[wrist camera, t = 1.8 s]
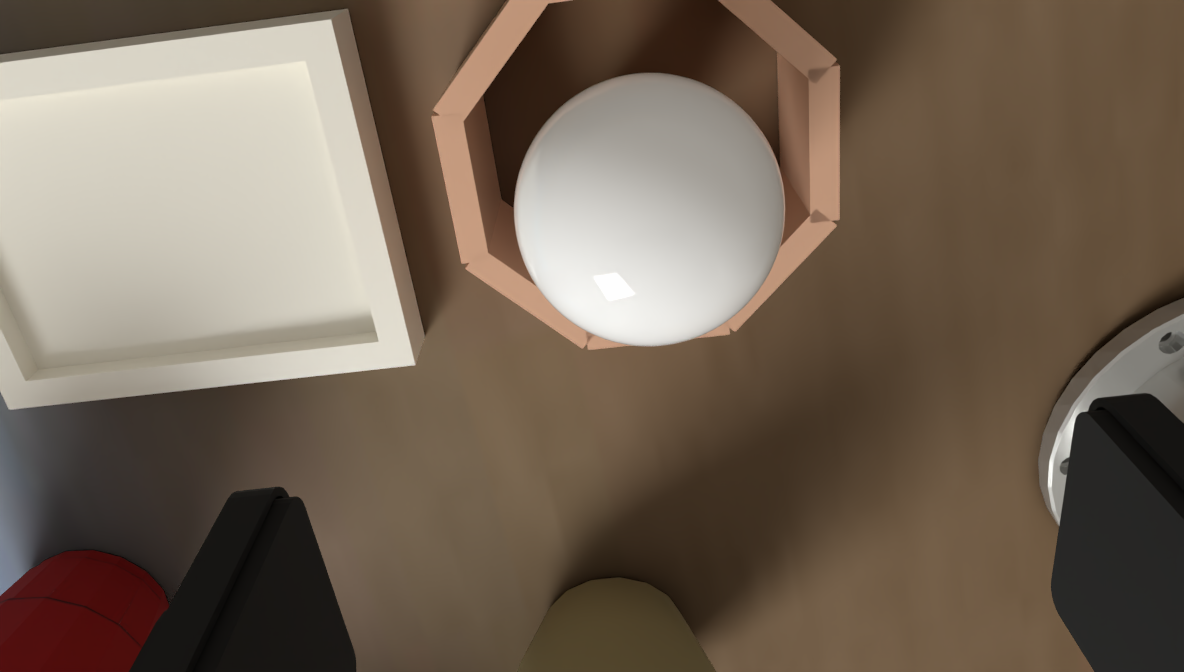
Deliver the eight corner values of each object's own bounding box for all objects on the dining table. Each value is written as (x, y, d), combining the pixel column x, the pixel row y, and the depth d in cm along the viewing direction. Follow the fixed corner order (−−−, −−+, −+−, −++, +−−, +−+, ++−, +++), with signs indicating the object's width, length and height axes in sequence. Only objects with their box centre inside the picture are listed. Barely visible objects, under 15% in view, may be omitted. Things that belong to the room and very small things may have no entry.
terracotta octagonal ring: (801, -82, 26) (840, -71, 22) (806, 262, 31) (839, 322, 27) (432, -33, 26) (404, -13, 22) (495, 297, 31) (481, 361, 27)
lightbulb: (496, 73, 28) (448, 190, 18) (691, -18, 27) (751, 56, 17) (583, 250, 31) (580, 435, 21) (763, 175, 29) (850, 334, 20)
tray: (348, 8, 27) (330, 19, 25) (424, 336, 32) (415, 365, 30) (-105, 68, 28) (-153, 82, 26) (40, 379, 33) (9, 409, 31)
